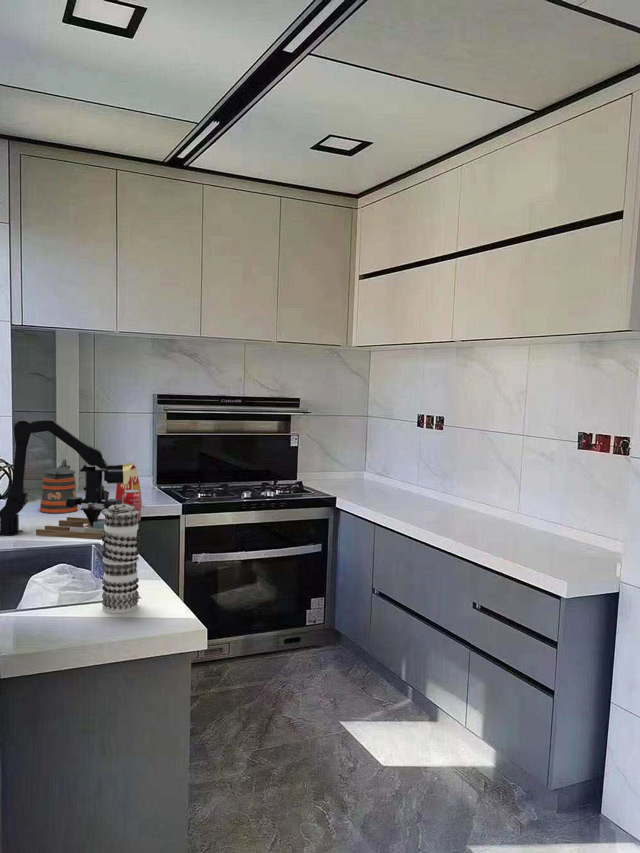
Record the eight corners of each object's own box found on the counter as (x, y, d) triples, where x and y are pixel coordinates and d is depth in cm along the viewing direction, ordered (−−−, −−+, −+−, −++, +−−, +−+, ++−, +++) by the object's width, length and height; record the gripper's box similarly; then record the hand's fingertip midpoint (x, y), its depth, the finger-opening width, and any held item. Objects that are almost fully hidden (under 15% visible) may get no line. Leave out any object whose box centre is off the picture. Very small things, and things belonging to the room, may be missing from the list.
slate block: (108, 534, 243) (108, 523, 243) (93, 533, 244) (93, 522, 244) (117, 531, 249) (117, 520, 249) (102, 530, 250) (102, 519, 250)
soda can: (121, 520, 267) (121, 489, 267) (139, 519, 270) (140, 489, 269) (122, 523, 261) (123, 492, 260) (141, 523, 263) (142, 491, 262)
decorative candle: (111, 599, 172) (112, 501, 171) (146, 603, 171) (147, 503, 169) (93, 611, 163) (94, 507, 162) (129, 615, 162) (130, 510, 160)
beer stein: (44, 505, 292) (44, 458, 291) (80, 505, 295) (81, 458, 294) (37, 514, 274) (37, 464, 272) (76, 513, 277) (76, 464, 276)
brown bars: (107, 539, 235) (107, 531, 234) (35, 535, 238) (35, 526, 237) (133, 526, 257) (133, 518, 257) (67, 522, 260) (67, 514, 260)
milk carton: (142, 507, 295) (143, 460, 293) (131, 511, 286) (131, 463, 285) (123, 505, 297) (124, 459, 296) (111, 509, 288) (112, 461, 287)
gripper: (127, 481, 253) (127, 523, 254) (79, 479, 255) (79, 520, 256) (115, 486, 242) (114, 530, 243) (64, 483, 244) (64, 527, 245)
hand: (93, 526), depth 247 cm, fingers closed
